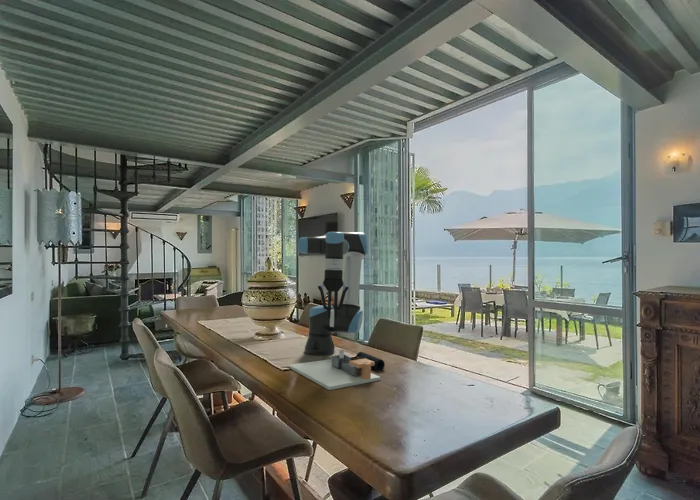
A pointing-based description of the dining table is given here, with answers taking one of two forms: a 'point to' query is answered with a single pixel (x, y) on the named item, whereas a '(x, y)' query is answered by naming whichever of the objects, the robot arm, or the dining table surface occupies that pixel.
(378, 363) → the pipe connector
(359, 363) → the keeper
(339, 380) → the board
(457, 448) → the dining table surface
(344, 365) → the link
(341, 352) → the cylinder
